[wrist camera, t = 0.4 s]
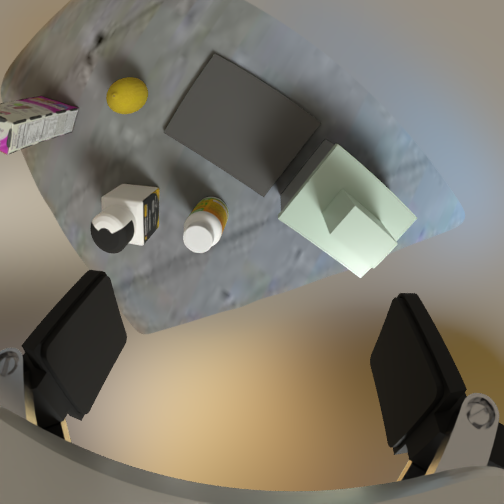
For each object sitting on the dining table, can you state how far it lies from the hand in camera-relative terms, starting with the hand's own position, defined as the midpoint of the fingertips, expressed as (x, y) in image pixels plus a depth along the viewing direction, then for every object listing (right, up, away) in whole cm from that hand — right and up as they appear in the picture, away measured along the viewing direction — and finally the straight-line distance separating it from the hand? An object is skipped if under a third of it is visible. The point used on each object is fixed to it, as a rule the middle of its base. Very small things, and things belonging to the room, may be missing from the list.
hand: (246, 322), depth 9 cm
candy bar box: (-35, +27, +29) cm, 53 cm away
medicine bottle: (-18, +10, +37) cm, 42 cm away
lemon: (-17, +26, +28) cm, 42 cm away
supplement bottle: (-6, +9, +36) cm, 38 cm away
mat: (-1, +20, +29) cm, 36 cm away
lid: (+13, +7, +26) cm, 30 cm away
